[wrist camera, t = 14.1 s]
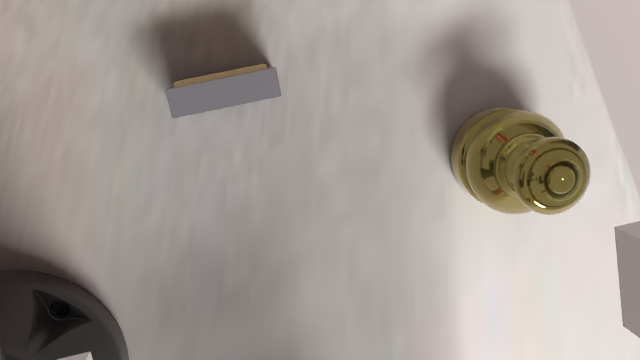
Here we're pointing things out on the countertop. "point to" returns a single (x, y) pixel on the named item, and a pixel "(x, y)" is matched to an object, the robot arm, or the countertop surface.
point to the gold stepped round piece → (519, 162)
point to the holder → (223, 90)
